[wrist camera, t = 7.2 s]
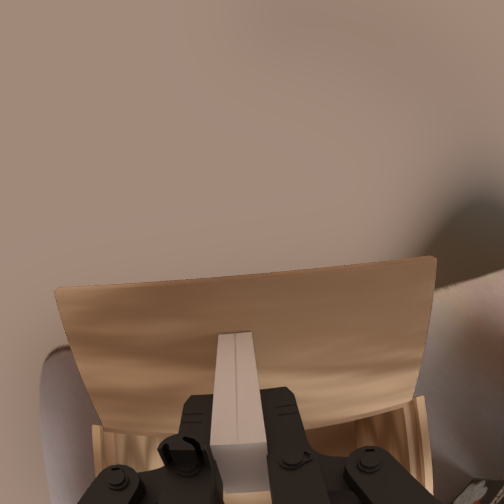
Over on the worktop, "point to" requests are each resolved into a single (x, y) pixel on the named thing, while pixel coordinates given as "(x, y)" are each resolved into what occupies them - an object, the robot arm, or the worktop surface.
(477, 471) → the worktop surface
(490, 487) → the chalk box
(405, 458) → the light wood open box
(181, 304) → the flap
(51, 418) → the worktop surface
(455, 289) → the worktop surface
